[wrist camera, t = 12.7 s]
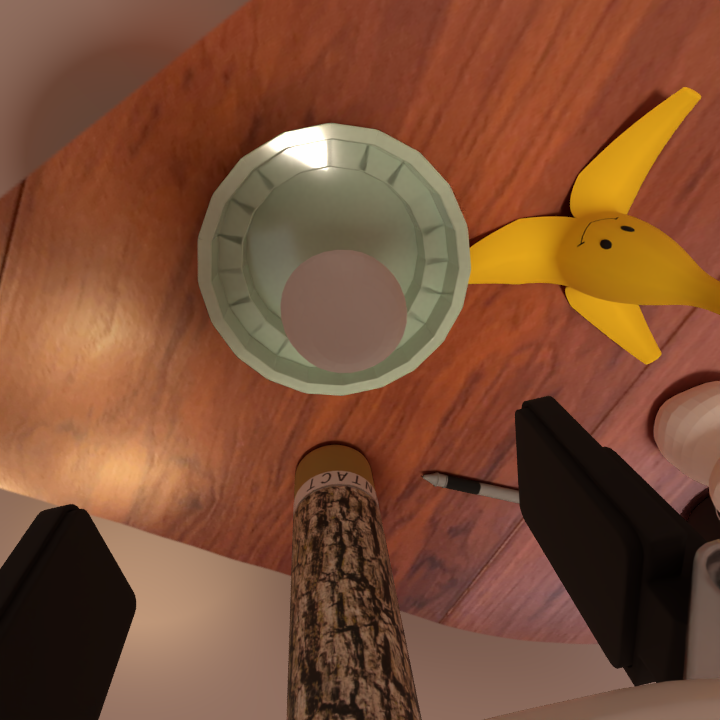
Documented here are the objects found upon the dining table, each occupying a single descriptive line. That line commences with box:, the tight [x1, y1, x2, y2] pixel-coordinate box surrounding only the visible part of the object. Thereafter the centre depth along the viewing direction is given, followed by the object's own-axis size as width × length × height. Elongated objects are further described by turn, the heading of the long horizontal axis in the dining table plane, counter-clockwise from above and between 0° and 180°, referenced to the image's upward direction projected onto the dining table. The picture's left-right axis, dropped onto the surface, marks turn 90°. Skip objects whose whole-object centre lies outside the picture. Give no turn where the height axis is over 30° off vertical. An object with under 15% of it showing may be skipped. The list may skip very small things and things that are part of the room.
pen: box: [422, 472, 520, 504], centre depth 45 cm, size 1×16×1 cm, turn 72°
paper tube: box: [287, 445, 422, 720], centre depth 31 cm, size 7×7×25 cm
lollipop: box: [280, 250, 407, 373], centre depth 27 cm, size 6×6×15 cm
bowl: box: [198, 123, 471, 396], centre depth 32 cm, size 17×17×6 cm
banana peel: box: [468, 87, 720, 364], centre depth 29 cm, size 17×19×17 cm
